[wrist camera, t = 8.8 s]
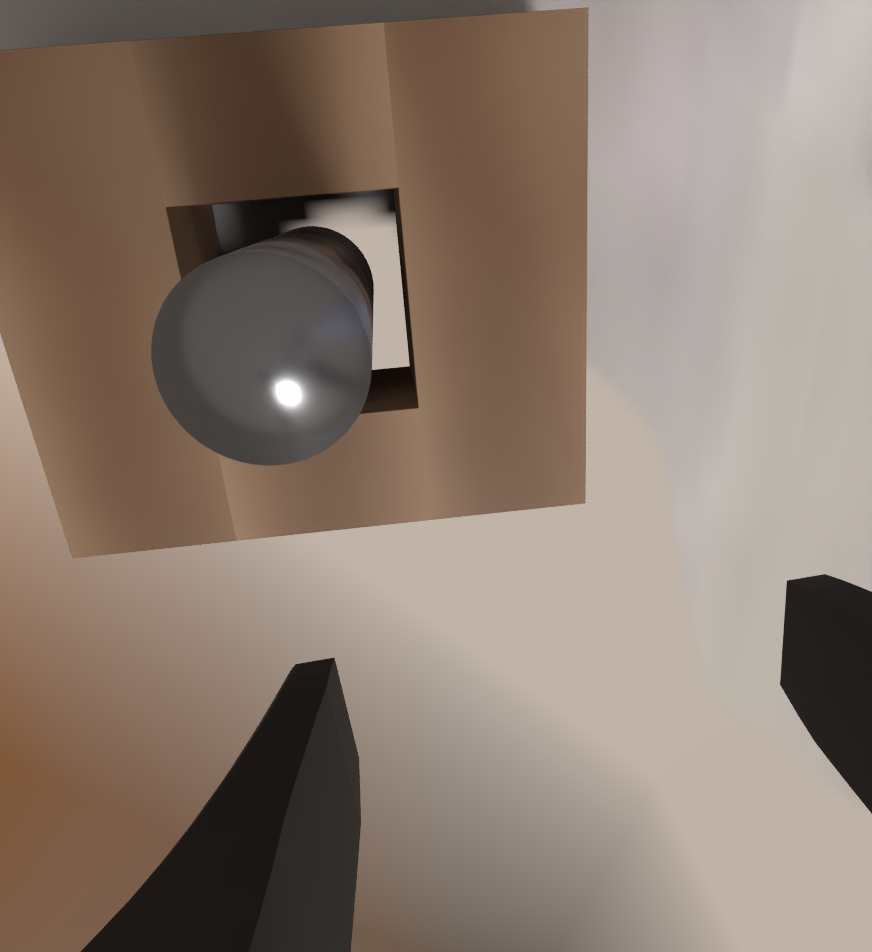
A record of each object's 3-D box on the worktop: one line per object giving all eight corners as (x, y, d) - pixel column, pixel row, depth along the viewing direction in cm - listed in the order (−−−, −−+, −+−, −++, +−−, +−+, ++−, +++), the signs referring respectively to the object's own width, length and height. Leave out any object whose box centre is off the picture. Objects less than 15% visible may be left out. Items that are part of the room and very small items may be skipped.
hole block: (539, 49, 16) (588, 7, 13) (546, 446, 20) (585, 503, 16) (20, 88, 16) (-89, 56, 12) (129, 489, 20) (72, 558, 16)
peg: (367, 222, 17) (360, 243, 9) (378, 340, 19) (381, 456, 10) (247, 230, 17) (128, 259, 9) (266, 349, 18) (175, 473, 10)
